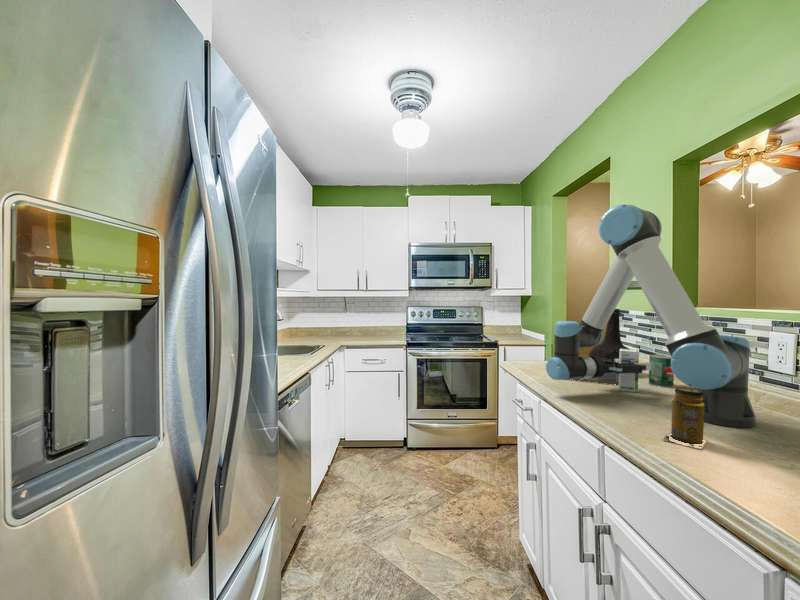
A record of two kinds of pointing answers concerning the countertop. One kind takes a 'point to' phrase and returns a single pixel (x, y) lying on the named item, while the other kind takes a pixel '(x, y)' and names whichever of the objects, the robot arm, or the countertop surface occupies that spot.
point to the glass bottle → (610, 339)
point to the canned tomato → (661, 371)
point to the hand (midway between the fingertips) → (638, 364)
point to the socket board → (605, 378)
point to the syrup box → (628, 379)
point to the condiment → (687, 416)
